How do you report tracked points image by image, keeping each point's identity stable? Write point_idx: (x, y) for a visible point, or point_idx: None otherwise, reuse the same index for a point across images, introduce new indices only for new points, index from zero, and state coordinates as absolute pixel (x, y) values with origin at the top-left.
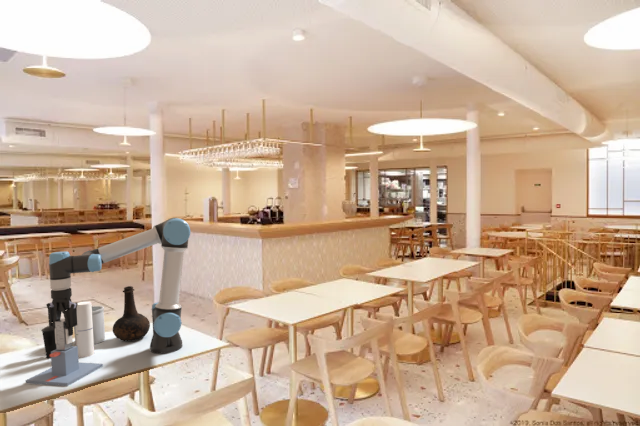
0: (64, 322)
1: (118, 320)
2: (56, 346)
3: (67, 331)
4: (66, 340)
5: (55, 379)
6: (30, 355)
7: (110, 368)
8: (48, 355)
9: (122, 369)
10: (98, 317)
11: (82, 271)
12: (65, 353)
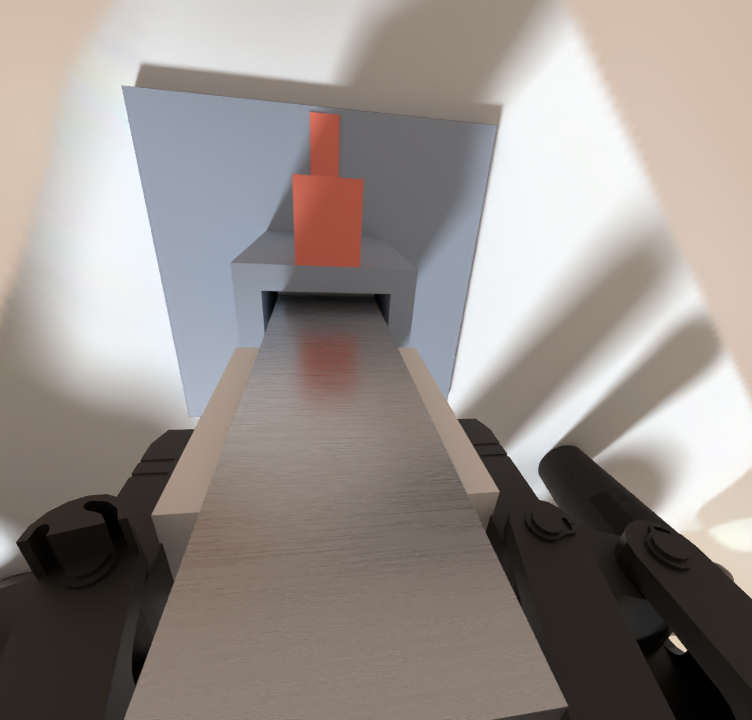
0: None
1: None
2: (383, 319)
3: (179, 474)
4: (243, 370)
5: (286, 153)
6: (663, 456)
7: (116, 391)
8: (573, 454)
9: (18, 389)
10: None
11: None
12: (233, 264)
